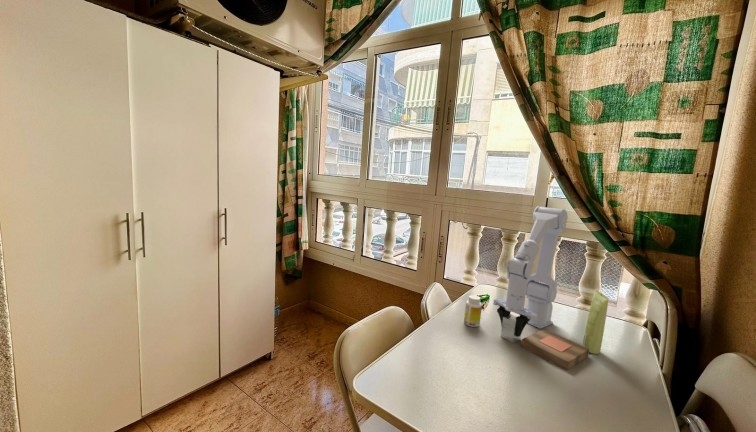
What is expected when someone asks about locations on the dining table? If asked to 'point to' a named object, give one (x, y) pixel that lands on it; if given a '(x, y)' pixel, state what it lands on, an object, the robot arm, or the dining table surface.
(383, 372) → the dining table surface
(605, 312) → the tube
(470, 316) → the supplement bottle
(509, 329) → the steel column
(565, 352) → the board
